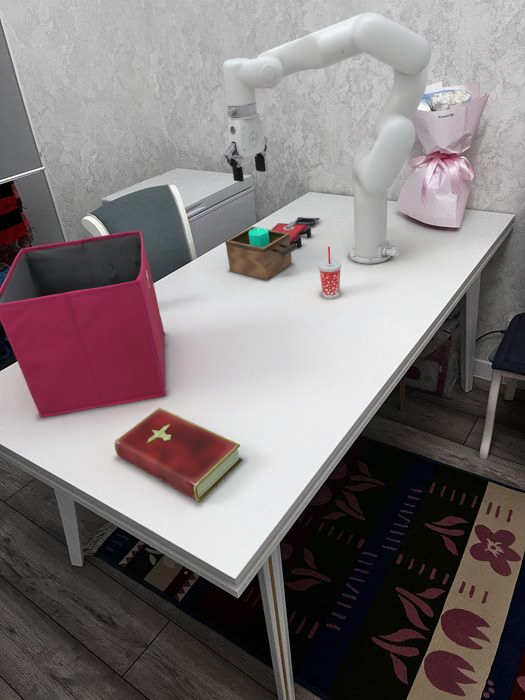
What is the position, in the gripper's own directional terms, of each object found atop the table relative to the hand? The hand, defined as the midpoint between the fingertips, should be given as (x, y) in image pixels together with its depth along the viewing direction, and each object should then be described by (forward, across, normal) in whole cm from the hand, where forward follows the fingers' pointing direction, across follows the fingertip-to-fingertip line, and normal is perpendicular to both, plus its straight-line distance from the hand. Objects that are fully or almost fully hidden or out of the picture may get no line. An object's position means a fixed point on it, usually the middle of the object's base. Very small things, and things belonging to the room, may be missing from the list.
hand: (250, 175), depth 156 cm
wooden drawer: (+28, 0, -3) cm, 28 cm away
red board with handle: (+28, +25, +7) cm, 38 cm away
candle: (+27, +1, 0) cm, 27 cm away
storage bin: (+28, -62, -4) cm, 68 cm away
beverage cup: (+28, -5, -29) cm, 41 cm away
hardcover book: (+28, -73, -39) cm, 88 cm away
